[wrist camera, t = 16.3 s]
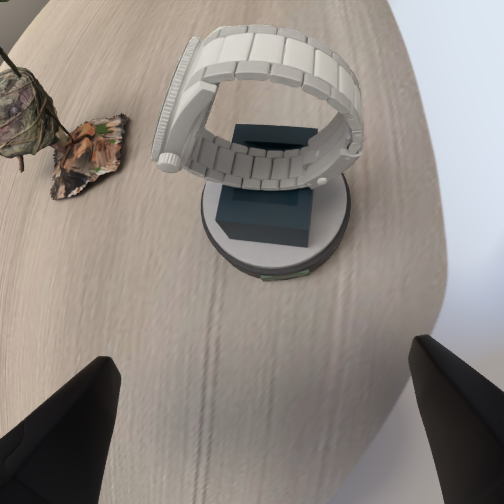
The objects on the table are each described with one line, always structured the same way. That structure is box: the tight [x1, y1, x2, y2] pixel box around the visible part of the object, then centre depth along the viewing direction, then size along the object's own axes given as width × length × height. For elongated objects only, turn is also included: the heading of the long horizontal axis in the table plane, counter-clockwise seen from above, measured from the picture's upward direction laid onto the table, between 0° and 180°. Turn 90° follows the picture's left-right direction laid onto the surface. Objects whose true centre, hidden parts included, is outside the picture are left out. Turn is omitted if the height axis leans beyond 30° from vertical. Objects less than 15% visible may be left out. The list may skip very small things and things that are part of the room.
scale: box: [201, 173, 351, 281], centre depth 20 cm, size 9×9×3 cm
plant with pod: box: [0, 0, 128, 200], centre depth 15 cm, size 8×11×20 cm
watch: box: [151, 25, 363, 248], centre depth 13 cm, size 6×8×11 cm
